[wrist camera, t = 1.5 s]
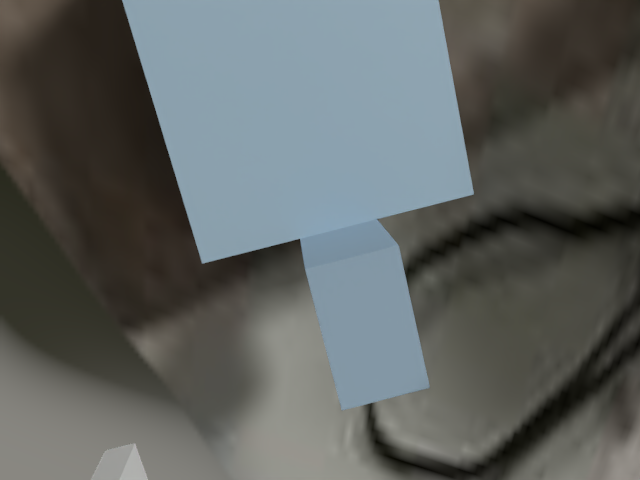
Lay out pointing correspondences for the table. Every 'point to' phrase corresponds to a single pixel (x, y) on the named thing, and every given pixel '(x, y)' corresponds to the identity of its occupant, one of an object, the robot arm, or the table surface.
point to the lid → (313, 151)
